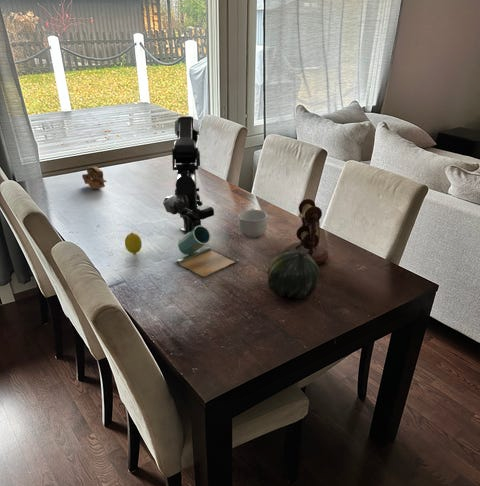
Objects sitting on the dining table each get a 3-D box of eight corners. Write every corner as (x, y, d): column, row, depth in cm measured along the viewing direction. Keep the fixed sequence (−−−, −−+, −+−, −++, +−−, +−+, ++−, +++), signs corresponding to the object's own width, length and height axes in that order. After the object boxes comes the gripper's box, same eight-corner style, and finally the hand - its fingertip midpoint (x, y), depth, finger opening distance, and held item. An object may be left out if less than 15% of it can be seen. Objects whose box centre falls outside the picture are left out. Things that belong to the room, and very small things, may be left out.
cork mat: (176, 263, 144) (176, 260, 144) (208, 249, 153) (207, 246, 152) (203, 277, 137) (203, 274, 136) (235, 262, 145) (235, 259, 144)
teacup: (264, 241, 159) (265, 221, 155) (235, 238, 161) (235, 218, 157) (269, 226, 171) (270, 207, 166) (242, 224, 172) (243, 205, 168)
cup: (174, 241, 147) (189, 229, 138) (189, 234, 151) (204, 222, 142) (183, 257, 147) (199, 246, 139) (197, 251, 151) (213, 240, 143)
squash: (267, 259, 135) (270, 240, 121) (314, 262, 135) (324, 243, 121) (265, 303, 131) (269, 289, 117) (314, 306, 131) (324, 292, 117)
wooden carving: (80, 186, 210) (76, 165, 205) (88, 183, 213) (84, 163, 208) (103, 192, 202) (99, 171, 197) (110, 190, 205) (107, 169, 200)
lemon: (145, 251, 151) (143, 230, 147) (137, 258, 147) (134, 237, 143) (131, 249, 153) (129, 228, 149) (123, 256, 149) (120, 234, 144)
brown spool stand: (333, 267, 143) (341, 209, 132) (290, 270, 141) (294, 212, 130) (319, 247, 155) (325, 193, 145) (279, 250, 153) (282, 195, 143)
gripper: (148, 184, 137) (153, 230, 145) (186, 197, 126) (189, 246, 133) (176, 177, 144) (179, 221, 152) (214, 189, 132) (215, 236, 140)
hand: (189, 231), depth 144 cm, fingers closed
